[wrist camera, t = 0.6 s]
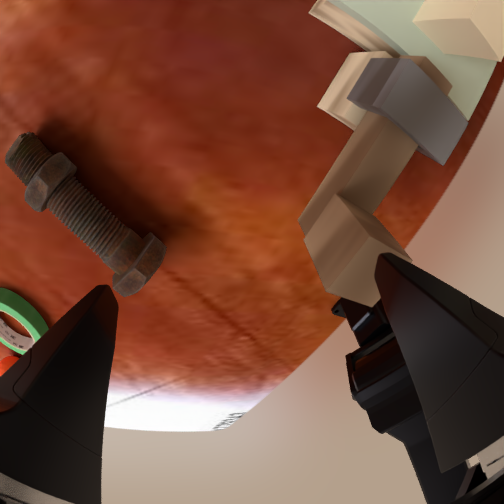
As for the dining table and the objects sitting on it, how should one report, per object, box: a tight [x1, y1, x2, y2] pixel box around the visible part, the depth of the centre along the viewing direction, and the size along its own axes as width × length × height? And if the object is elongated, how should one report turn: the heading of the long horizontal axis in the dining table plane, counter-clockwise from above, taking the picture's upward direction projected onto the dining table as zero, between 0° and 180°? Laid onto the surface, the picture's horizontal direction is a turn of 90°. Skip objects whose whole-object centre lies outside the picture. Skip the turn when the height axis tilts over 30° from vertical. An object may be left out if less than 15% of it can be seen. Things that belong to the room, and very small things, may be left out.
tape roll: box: [0, 287, 49, 355], centre depth 26 cm, size 11×11×3 cm
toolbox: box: [309, 0, 468, 166], centre depth 11 cm, size 12×18×9 cm, turn 152°
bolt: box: [5, 132, 167, 297], centre depth 18 cm, size 6×5×15 cm
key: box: [298, 55, 453, 307], centre depth 12 cm, size 3×12×6 cm, turn 152°
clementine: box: [0, 356, 19, 376], centre depth 30 cm, size 8×7×7 cm
